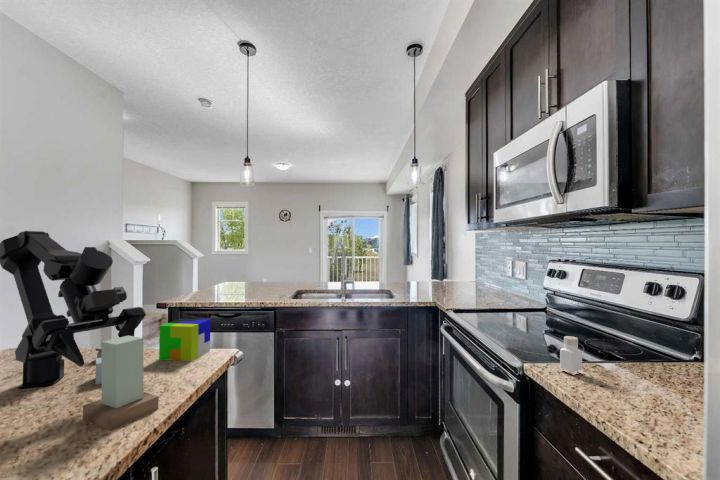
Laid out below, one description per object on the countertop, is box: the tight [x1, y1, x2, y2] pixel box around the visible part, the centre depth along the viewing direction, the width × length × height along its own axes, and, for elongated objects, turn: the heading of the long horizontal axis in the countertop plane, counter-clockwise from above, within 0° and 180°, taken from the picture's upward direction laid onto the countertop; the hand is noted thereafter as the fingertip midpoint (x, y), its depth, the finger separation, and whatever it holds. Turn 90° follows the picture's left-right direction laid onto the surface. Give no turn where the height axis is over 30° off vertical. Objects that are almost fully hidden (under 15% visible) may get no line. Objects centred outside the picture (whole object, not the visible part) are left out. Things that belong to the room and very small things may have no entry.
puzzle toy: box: [158, 318, 211, 362], centre depth 103 cm, size 10×10×10 cm
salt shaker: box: [559, 335, 583, 372], centre depth 91 cm, size 4×4×10 cm
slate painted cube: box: [95, 357, 102, 385], centre depth 84 cm, size 5×5×5 cm
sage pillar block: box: [100, 335, 144, 408], centre depth 67 cm, size 5×5×12 cm
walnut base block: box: [82, 391, 160, 431], centre depth 67 cm, size 9×9×3 cm
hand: (108, 358), depth 69 cm, fingers open, 9 cm apart
